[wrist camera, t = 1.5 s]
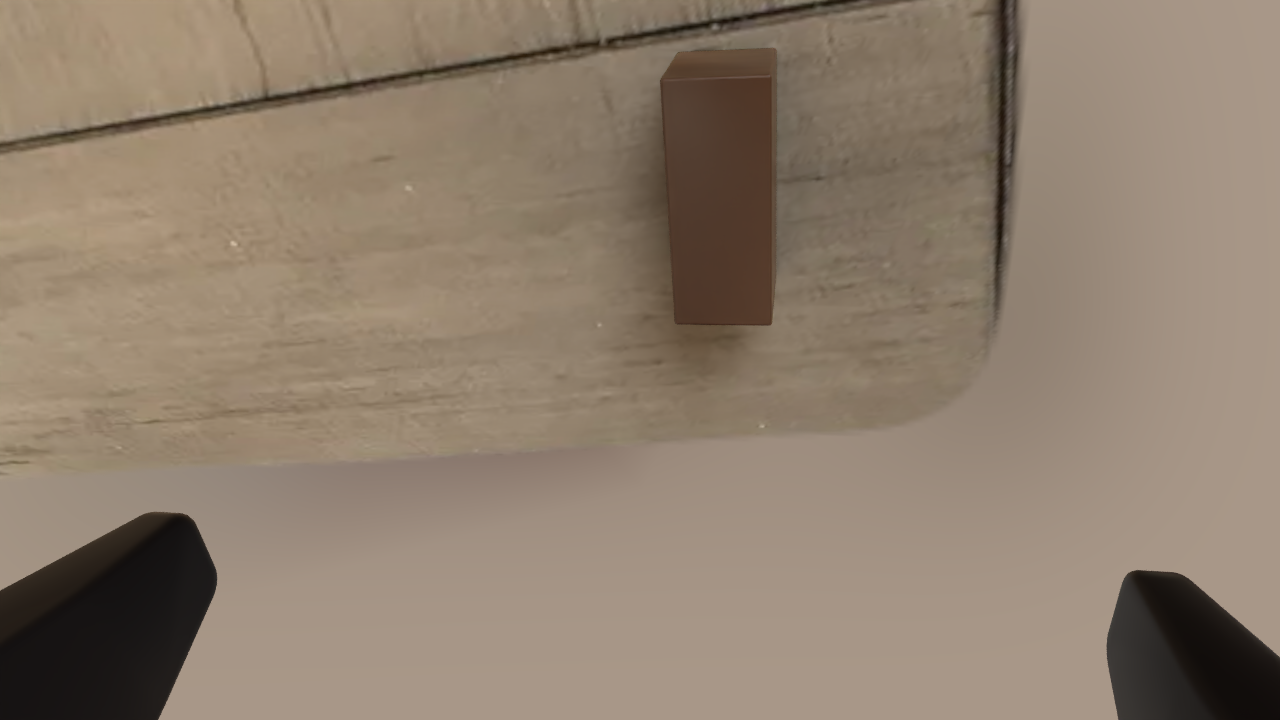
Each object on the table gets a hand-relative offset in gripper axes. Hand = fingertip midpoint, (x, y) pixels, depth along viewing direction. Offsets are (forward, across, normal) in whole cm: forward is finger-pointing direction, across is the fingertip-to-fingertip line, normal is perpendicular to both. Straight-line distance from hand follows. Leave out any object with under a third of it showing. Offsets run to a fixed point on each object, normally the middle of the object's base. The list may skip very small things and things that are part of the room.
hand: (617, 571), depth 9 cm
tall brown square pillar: (+12, 0, 0) cm, 12 cm away
